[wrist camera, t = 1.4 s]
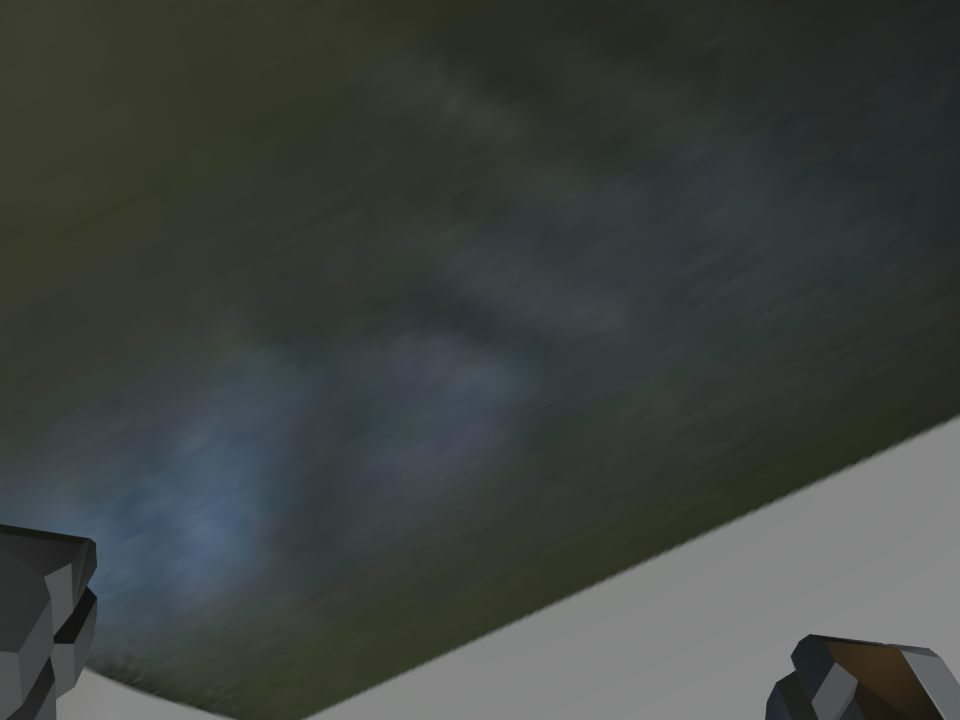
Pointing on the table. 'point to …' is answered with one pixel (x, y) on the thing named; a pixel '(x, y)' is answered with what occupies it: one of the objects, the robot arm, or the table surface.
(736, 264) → the table surface
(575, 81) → the table surface
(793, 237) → the table surface
